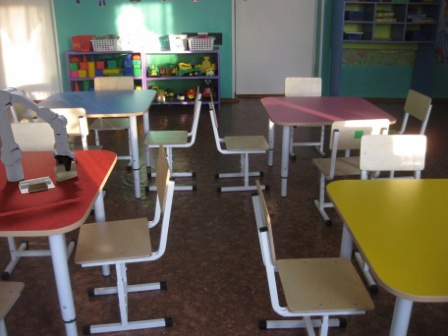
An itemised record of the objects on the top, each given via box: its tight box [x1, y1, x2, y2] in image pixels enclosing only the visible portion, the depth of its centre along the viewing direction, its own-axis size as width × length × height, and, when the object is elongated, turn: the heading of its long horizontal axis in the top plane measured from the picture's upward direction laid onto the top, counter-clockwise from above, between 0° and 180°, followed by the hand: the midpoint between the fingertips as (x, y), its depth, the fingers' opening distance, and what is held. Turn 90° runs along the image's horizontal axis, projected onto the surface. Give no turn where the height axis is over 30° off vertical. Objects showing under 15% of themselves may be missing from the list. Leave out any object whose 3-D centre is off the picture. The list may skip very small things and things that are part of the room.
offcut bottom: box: [28, 183, 48, 193], centre depth 205 cm, size 3×8×2 cm, turn 119°
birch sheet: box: [53, 161, 78, 183], centre depth 217 cm, size 3×10×7 cm, turn 147°
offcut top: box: [28, 180, 46, 188], centre depth 204 cm, size 3×7×2 cm, turn 119°
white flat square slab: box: [18, 176, 56, 195], centre depth 209 cm, size 14×14×3 cm
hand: (65, 170), depth 217 cm, fingers closed on birch sheet, 3 cm apart
